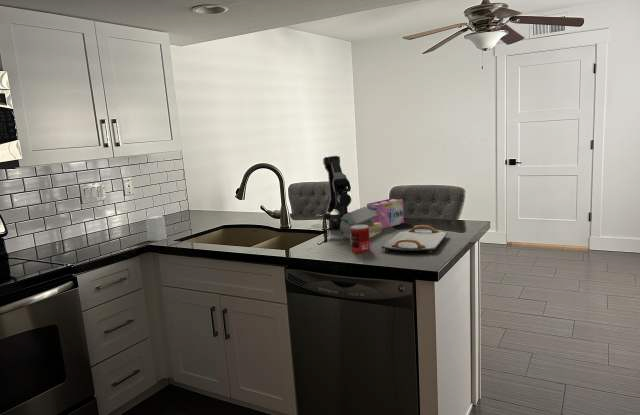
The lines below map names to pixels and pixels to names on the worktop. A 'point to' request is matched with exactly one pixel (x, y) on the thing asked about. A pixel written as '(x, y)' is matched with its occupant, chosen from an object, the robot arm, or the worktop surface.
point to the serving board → (416, 240)
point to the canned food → (360, 238)
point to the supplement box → (156, 228)
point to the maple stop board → (373, 229)
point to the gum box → (388, 212)
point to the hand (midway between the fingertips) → (342, 233)
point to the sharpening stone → (356, 219)
